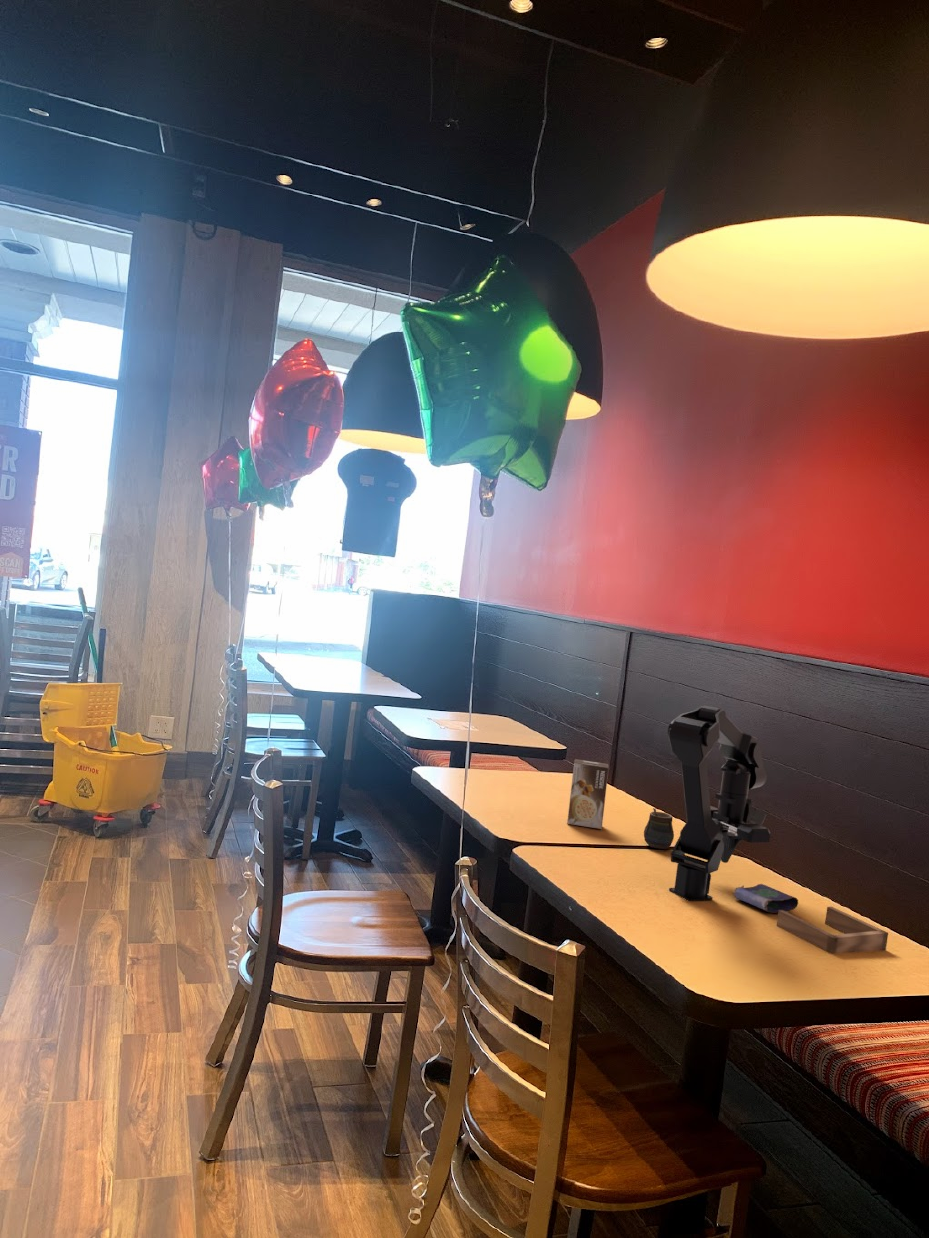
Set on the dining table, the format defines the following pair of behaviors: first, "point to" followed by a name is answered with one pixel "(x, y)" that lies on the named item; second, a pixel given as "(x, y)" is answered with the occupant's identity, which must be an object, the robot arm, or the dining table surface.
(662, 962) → the dining table surface
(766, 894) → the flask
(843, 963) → the dining table surface
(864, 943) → the walnut u-shaped fence
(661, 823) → the mate gourd
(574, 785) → the coffee box
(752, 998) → the dining table surface
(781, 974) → the dining table surface
